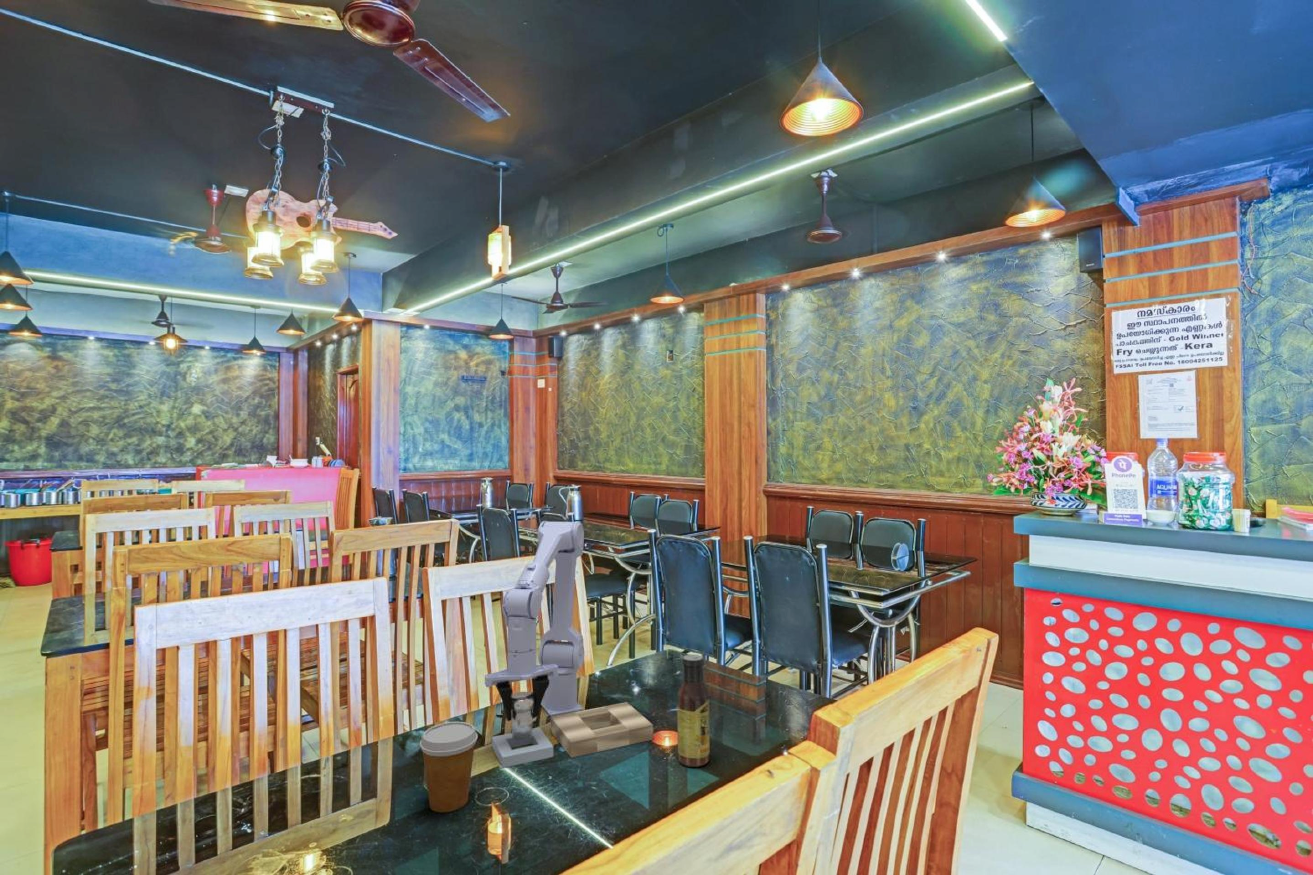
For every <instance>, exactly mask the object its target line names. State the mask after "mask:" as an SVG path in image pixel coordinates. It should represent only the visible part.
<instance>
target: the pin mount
mask: <svg viewBox="0 0 1313 875" xmlns="http://www.w3.org/2000/svg"><path fill="white" fill-rule="evenodd" d="M527 745H529V746H527ZM521 746H522V747H521ZM517 747H520V748H517ZM491 748H492V750H493V751H494V754H495V756H496V758H497V759H498V762H499V763H500V766H501V768H502V769H505V768H508V767H514V766H519V765H522V764H528V763H531V762H536V761H540V760H545V759H551V758H554V745H553V743H552V742H550V740H549V738H548V737H547V736H546V734H545V733H544V731H543V730H542V729H541V727H535V728H532V737H531V738H530V739H527V740H523V741H517V740H514V739H513V738H512V732H511V733H506V734H500V735H494V736H492V737H491ZM512 748H515V749H512Z"/></svg>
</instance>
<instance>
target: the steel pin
mask: <svg viewBox="0 0 1313 875" xmlns="http://www.w3.org/2000/svg"><path fill="white" fill-rule="evenodd" d="M534 706H535V694H534V693H533V691H519V692H515V693H512V698H511V712H512V719H511V733H512V738H513V739H514V740H517V741H523V740H527V739H530V738H531V737H532V729H533V707H534Z"/></svg>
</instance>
